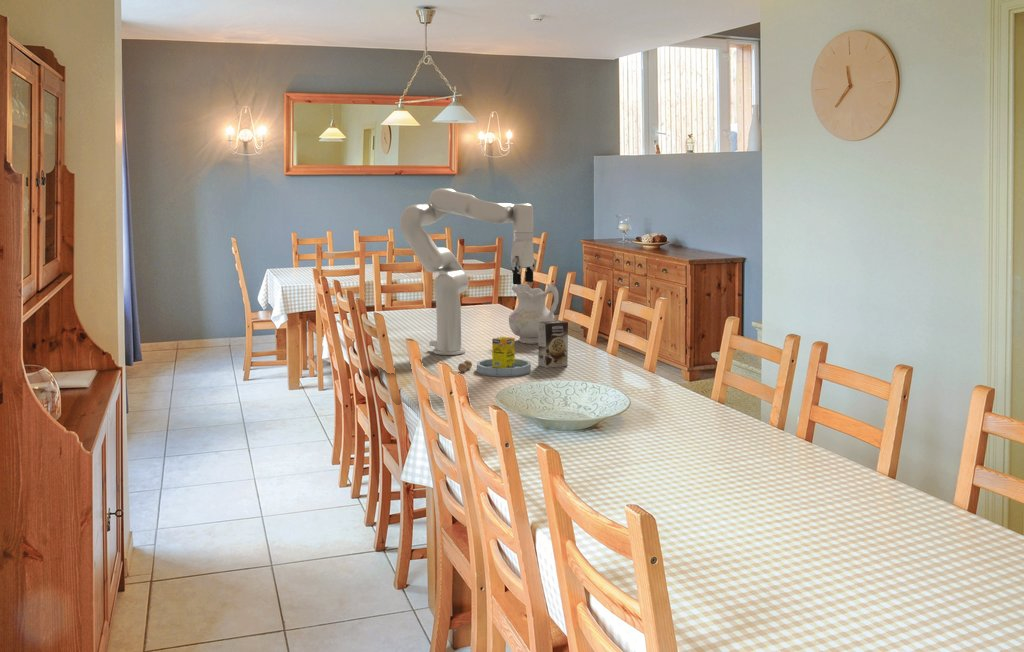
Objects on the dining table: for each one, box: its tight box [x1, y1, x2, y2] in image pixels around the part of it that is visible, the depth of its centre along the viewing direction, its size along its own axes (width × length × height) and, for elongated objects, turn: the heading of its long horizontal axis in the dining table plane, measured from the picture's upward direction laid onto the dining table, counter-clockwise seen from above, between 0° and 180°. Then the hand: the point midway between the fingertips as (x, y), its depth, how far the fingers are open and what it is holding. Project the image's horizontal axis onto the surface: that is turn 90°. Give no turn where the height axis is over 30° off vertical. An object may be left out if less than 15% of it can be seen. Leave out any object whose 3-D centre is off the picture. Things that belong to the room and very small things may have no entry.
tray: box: [476, 358, 532, 378], centre depth 319 cm, size 19×19×3 cm
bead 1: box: [457, 362, 468, 373], centre depth 318 cm, size 3×3×3 cm
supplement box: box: [491, 336, 516, 368], centre depth 319 cm, size 6×6×11 cm
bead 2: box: [463, 359, 473, 370], centre depth 323 cm, size 3×3×3 cm
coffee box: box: [537, 319, 569, 369], centre depth 328 cm, size 9×6×16 cm
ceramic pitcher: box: [508, 282, 560, 345], centre depth 377 cm, size 22×20×25 cm
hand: (523, 283), depth 340 cm, fingers open, 9 cm apart
